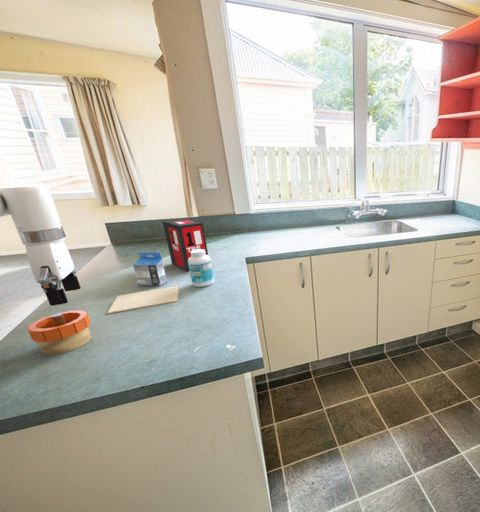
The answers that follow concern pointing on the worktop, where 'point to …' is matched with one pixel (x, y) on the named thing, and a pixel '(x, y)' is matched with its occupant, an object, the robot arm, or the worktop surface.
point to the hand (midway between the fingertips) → (66, 296)
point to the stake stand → (67, 342)
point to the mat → (144, 299)
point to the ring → (59, 327)
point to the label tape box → (150, 269)
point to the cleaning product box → (184, 240)
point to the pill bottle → (200, 268)
